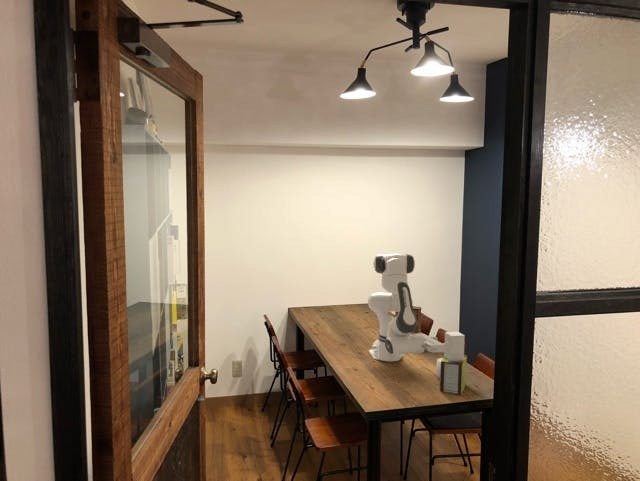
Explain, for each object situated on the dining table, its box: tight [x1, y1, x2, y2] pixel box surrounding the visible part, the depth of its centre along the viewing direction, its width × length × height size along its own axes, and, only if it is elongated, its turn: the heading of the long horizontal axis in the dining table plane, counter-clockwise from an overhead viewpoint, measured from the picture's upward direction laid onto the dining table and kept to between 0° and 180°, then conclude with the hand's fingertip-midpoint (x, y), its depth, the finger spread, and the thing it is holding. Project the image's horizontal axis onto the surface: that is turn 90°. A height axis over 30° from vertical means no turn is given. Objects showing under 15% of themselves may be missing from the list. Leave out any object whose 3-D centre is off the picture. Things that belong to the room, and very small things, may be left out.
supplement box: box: [443, 331, 466, 361], centre depth 241 cm, size 7×7×13 cm
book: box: [394, 305, 422, 333], centre depth 314 cm, size 16×6×25 cm, turn 55°
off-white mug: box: [436, 357, 443, 380], centre depth 259 cm, size 10×8×9 cm
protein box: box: [439, 354, 468, 396], centre depth 243 cm, size 10×15×16 cm
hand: (442, 341), depth 239 cm, fingers open, 8 cm apart
